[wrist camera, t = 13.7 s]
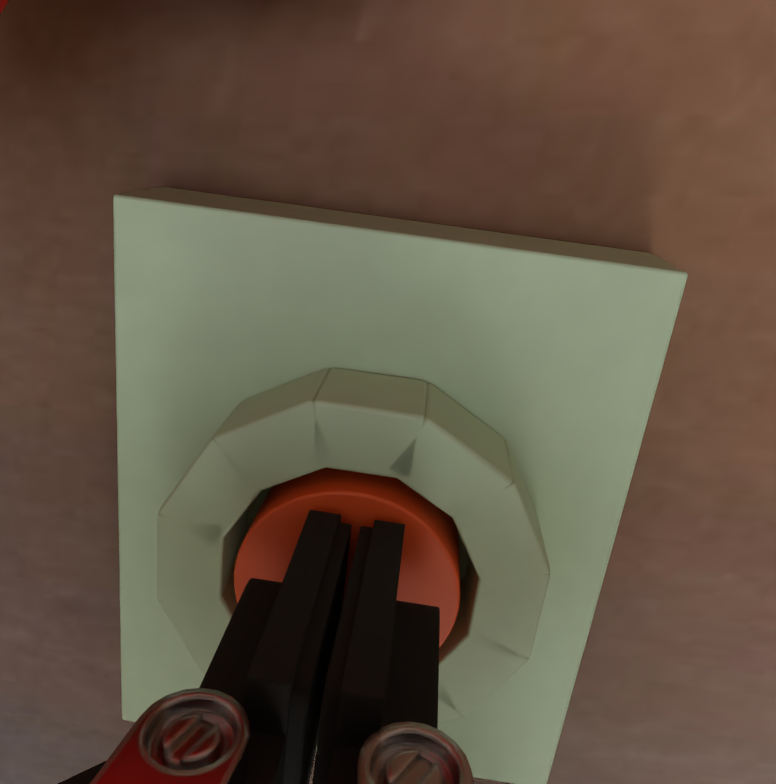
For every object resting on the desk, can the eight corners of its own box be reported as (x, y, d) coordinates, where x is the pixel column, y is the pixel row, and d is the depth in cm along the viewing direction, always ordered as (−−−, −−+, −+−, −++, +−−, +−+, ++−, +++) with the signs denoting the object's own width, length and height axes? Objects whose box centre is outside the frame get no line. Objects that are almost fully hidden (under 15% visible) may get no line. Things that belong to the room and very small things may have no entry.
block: (534, 715, 18) (557, 868, 14) (157, 655, 18) (82, 788, 14) (653, 253, 14) (731, 294, 10) (160, 186, 14) (55, 201, 10)
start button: (442, 636, 14) (441, 700, 13) (252, 606, 14) (228, 666, 13) (474, 464, 13) (477, 511, 11) (264, 433, 13) (238, 475, 11)
